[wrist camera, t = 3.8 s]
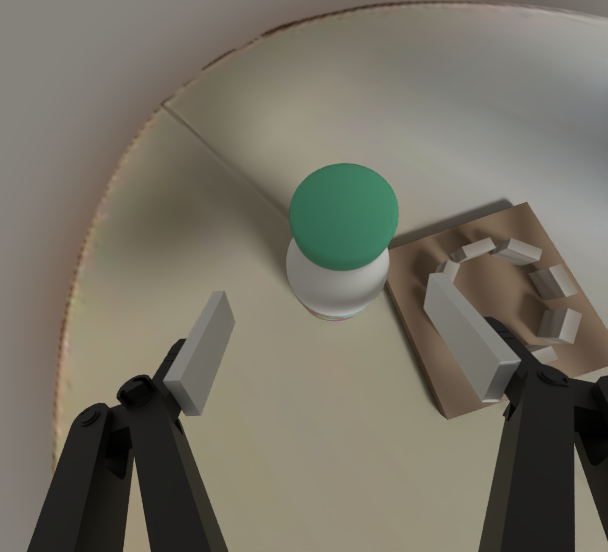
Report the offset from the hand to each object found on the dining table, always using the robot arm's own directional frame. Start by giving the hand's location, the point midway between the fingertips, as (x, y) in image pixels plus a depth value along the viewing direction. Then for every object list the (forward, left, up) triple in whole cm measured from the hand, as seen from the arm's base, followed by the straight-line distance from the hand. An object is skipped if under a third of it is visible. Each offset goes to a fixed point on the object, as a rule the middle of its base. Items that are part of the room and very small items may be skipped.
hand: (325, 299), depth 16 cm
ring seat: (-17, +5, -13) cm, 22 cm away
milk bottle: (-2, -2, -13) cm, 14 cm away
